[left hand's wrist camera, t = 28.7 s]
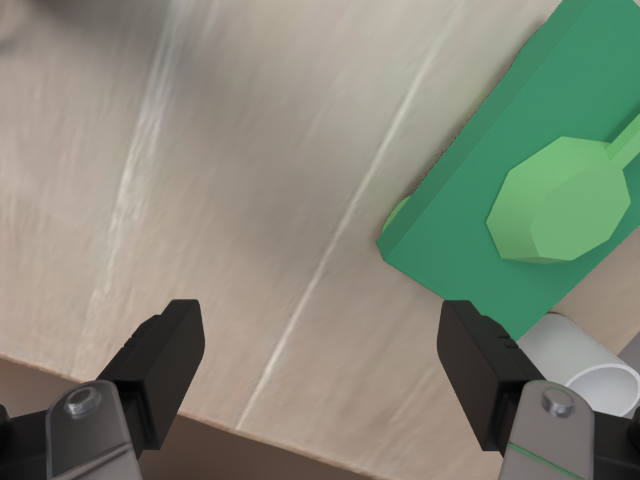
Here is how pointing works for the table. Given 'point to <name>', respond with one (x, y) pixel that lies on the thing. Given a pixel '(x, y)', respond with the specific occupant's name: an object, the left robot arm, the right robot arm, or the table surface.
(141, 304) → the table surface
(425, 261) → the toy tank
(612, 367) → the mug
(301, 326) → the table surface
